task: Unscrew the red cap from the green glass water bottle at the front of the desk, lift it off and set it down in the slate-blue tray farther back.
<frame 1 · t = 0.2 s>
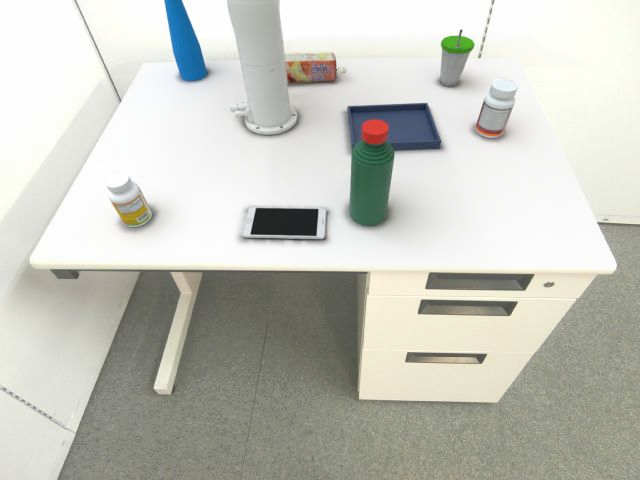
supplement bottle: (138, 218, 77), on the table
bottle: (194, 75, 113), on the table
cap: (375, 128, 62), point 19 cm above the table, screwed on, not yet turned
water bottle: (367, 212, 76), on the table
juice carton: (297, 79, 109), on the table
pill bottle: (488, 131, 91), on the table
cup: (448, 83, 106), on the table
smartphone: (285, 224, 75), on the table
tray: (390, 130, 93), on the table
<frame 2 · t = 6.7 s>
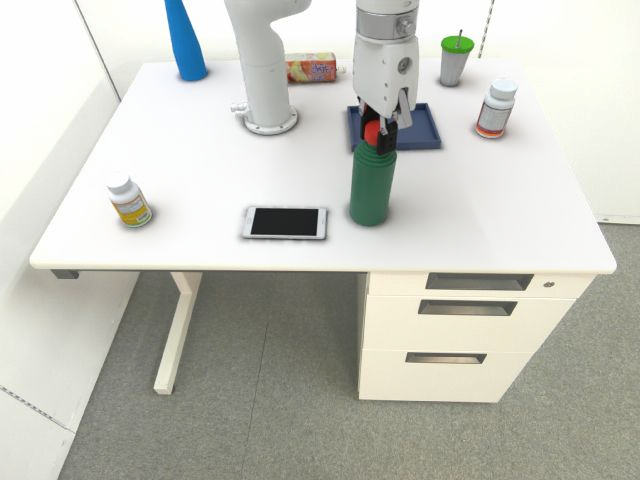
hand: (377, 143, 63), 16 cm above the table, tool pointing down, fingers closed on cap, 4 cm apart
cap: (378, 129, 61), point 19 cm above the table, turned 115° so far, risen 0.1 cm, still on its thread, touching gripper
everything else where it was.
when the fingers open (16 cm above the table, at t = 11.1 s): cap stays where it is, point 19 cm above the table.
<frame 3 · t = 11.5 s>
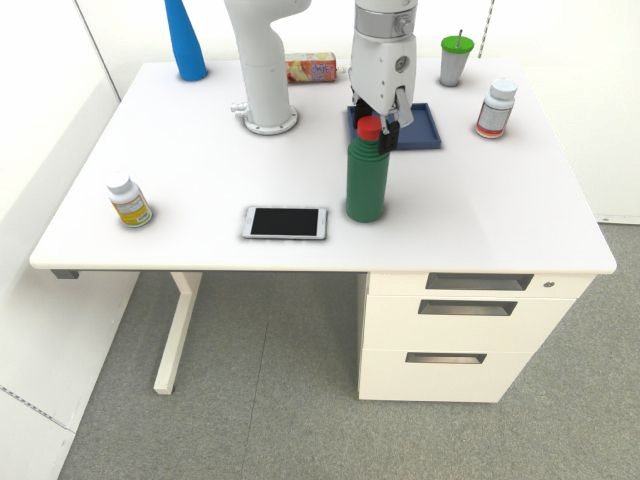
hand: (374, 137, 63), 17 cm above the table, tool pointing down, fingers open, 6 cm apart
cap: (370, 124, 62), point 19 cm above the table, turned 115° so far, risen 0.1 cm, still on its thread
water bottle: (364, 209, 77), on the table
everything else where it was.
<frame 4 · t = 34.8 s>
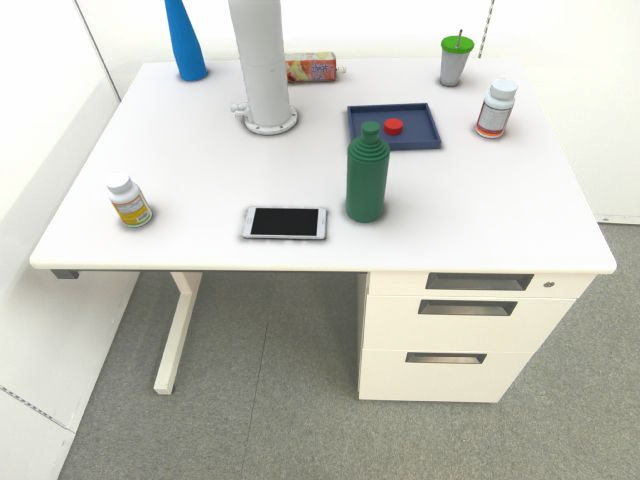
cap: (393, 124, 91), point 2 cm above the table, off its thread, touching tray
everything else where it was.
at the end: cap came off its thread; cap inside the target area in the tray (0.9 cm from its centre), point 2.0 cm above the tray's base; the gripper is holding nothing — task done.
